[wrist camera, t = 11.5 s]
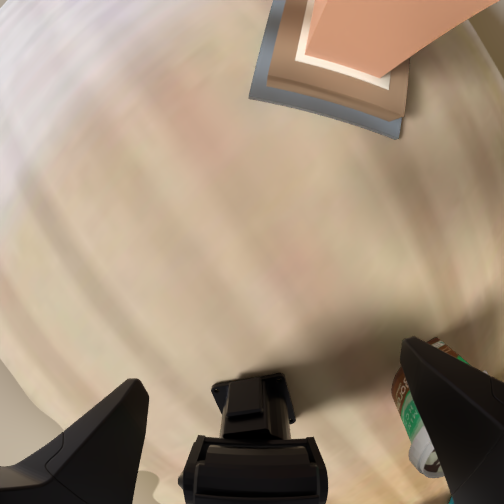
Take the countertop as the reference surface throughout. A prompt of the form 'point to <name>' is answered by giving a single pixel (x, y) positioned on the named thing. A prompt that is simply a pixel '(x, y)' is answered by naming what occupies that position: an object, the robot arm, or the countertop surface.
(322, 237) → the countertop surface
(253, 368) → the countertop surface
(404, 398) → the food container
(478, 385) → the robot arm
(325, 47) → the terracotta block
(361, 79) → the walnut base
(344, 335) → the countertop surface
